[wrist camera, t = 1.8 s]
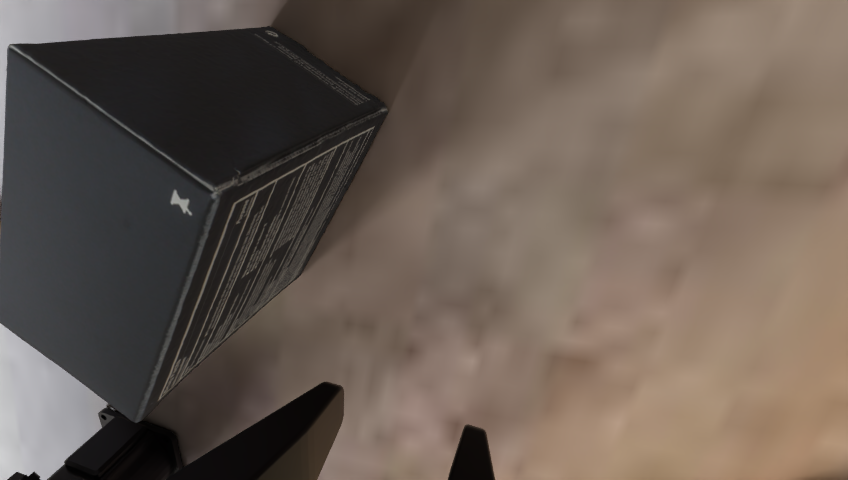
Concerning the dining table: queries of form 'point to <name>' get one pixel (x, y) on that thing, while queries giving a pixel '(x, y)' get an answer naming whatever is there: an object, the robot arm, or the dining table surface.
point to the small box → (165, 195)
